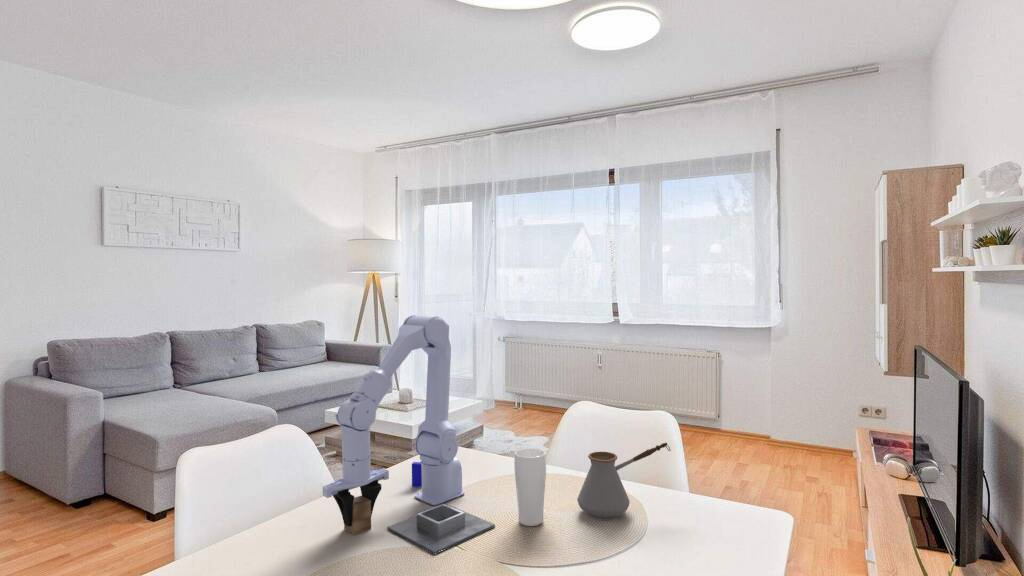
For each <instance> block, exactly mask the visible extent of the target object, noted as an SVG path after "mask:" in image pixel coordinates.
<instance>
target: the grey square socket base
mask: <svg viewBox="0 0 1024 576" xmlns="http://www.w3.org/2000/svg"><path fill="white" fill-rule="evenodd" d="M495 525H496V524H495V523H492V522H490V521H488V520H485V519H483V518H481V517H478V516H476V515H473V514H471V513H469V512H466V511H465V510H463V509H460V508H457V507H456V506H453V505H449V504H448V503H446V504H445V503H440V504H438V505H435V506H434V507H431V508H428V509H426V510H423V511H421V512H418V513H416V515H414V516H412V517H409V518H406V519H404V520H401V521H399V522H395V523H394V524H391V525H388V526H387V527H386V529H387V531H389V532H391V533H393V534H395V535H397V536H399V537H400V538H402V539H404V540H406V541H407V542H409V543H411V544H414V545H415V546H417V547H419V548H420V549H423V548H424V549H423V550H425V549H426V550H428V551H430V552H432V553H434V554H435V553H438V552H439V551H441V550H444V549H446V550H448V549H447V548H449V549H451V548H453V547H456V546H457V545H459V544H462V543H464V542H466V541H468V540H471V539H472V538H475V537H477V536H479V535H480V534H481V535H482V533H486V532H487V531H490V530H491V529H494V528H495V527H496V526H495ZM426 550H425V551H426ZM428 551H427V552H428ZM444 551H445V550H444ZM430 552H429V553H430ZM432 553H431V554H432ZM434 554H433V555H434ZM438 554H439V553H438Z"/></svg>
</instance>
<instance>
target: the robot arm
mask: <svg viewBox="0 0 1024 576" xmlns="http://www.w3.org/2000/svg"><path fill="white" fill-rule="evenodd" d="M397 332H398V334H397V336H396V338H395V341H393V344H391V346H390V348H389V350H388V351H387V353H386V355H385V357H384V358H383V360H382V361H381V363H380V365H379V366H378V367H377V368H376V369H373V370H369V372H366V373H365V374H364V375H363V377H362V379H363V380H362V381H361V383H360V384H359V385H358V387H357V388H356V390H355V391H354V393H353V392H352V394H350V398H349V399H347V400H345V401H343V402H342V404H341V405H340V406H339V407H338V410H337V413H335V419H336V422H337V424H339V426H340V432H341V452H342V453H341V454H342V455H341V457H342V461H341V462H342V477H341V478H339V479H337V480H335V481H333V482H331V483H328V484H325V485H323V486H322V496H323V497H324V498H327V499H329V498H332V497H333V498H334V500H335V502H336V504H337V506H338V509H339V512H340V514H341V517H342V520H343V525H344V524H345V525H346V526H348V527H349V526H352V507H353V501H354V498H355V497H356V496H355V495H353V494H351V492H350V490H354V489H357V488H360V493H361V496H363V497H365V498H367V499H369V500H371V517H372V516H373V512H374V507H375V504H376V501H377V498H378V496H379V494H380V492H381V491H382V483H379V481H382V480H383V481H387V480H389V479H390V476H389V475H390V474H389V473H390V472H389V469H386V468H384V467H383V468H380V469H375V470H371V467H372V465H371V462H372V461H371V426H372V425H373V424H374V423H375V422H376V421H375V420H376V417H377V410H379V409H378V407H379V405H380V404H381V402H382V400H383V399H384V397H385V396H386V394H387V393H388V392H389V390H390V388H391V387H392V377H393V375H394V374H395V372H396V371H397V370H398V369H399V368H400V366H401V365H402V364H403V362H404V361H405V360H406V359H407V357H408V356H409V355H410V353H412V351H413V350H414V351H415V350H418V349H422V350H423V351H424V352H425V353H426V354H427V371H426V372H427V374H426V396H425V413H424V414H425V415H424V417H425V418H424V420H423V421H422V422H421V423H420V424H419V425H418V429H417V435H416V437H415V439H414V445H413V446H414V450H415V452H416V453H417V454H418V455H419V460H420V462H421V467H422V487H421V492H419V493H416V494H414V498H415V499H418V500H420V501H422V502H425V503H427V504H428V505H431V506H438V505H441V504H444V503H446V502H448V501H450V500H453V499H456V498H458V497H461V496H463V495H465V491H463V468H462V465H461V464H462V463H461V461H460V460H459V458H458V457H456V456H457V454H458V449H459V443H458V440H457V434H456V432H457V431H456V428H455V427H454V425H453V424H452V423H451V422H450V421H449V409H450V408H449V404H450V386H451V385H450V384H451V383H450V381H451V363H452V360H451V359H452V346H451V345H452V344H451V341H450V338H449V337H450V325H449V324H448V323H447V322H446V320H444V319H443V318H442V317H440V316H420V315H409V316H407V318H405V319H404V321H403V323H402V325H400V326H399V328H398V331H397Z"/></svg>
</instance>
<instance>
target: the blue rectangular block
mask: <svg viewBox="0 0 1024 576" xmlns="http://www.w3.org/2000/svg"><path fill="white" fill-rule="evenodd" d="M412 487H415V488H422V467H421V461H413V462H412V463H411V488H412Z"/></svg>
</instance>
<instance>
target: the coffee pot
mask: <svg viewBox="0 0 1024 576" xmlns="http://www.w3.org/2000/svg"><path fill="white" fill-rule="evenodd" d="M663 448H666V450H667V451H668V452H671V448H670V446H669V445H668V442H663V443H660V445H655V447H651V448H648V449H646V450H645V451H642V452H641V453H639V454H638V455H636V456H634V457H633V458H631V459H628V460H627V461H624V462H622V463H619V464H618V465H616V464H615V463H616V461H617V460H618V455H617V454H616V453H614V452H610V451H609V452H608V451H593V452H591V453H589V454H588V456H587V458H588V459H589V460H590V464H591V465H590V467H589V470H588V472H587V475H586V477H585V480H584V481H583V484H582V487H581V489H580V492H579V493H578V495H577V500H576V501H577V504H578V506H579V508H580V509H581V510H582V512H584V513H586V516H588V517H589V518H591V519H594V520H598V521H613V520H614V521H615V520H616V519H619V518H620V517H622V515H623V514H625V512H627V510H628V509H629V507H630V503H631V502H630V499H629V496H628V494H627V492H626V489H625V486H624V485H623V484H624V483H623V482H622V480H621V478H620V475H619V473H618V471H620V469H623V468H625V467H627V466H629V465H631V464H632V463H635V462H637V461H640V460H641V459H644V458H647V457H649V456H651V455H652V454H654V453H656V452H657V451H658V452H659V451H661V449H663Z"/></svg>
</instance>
